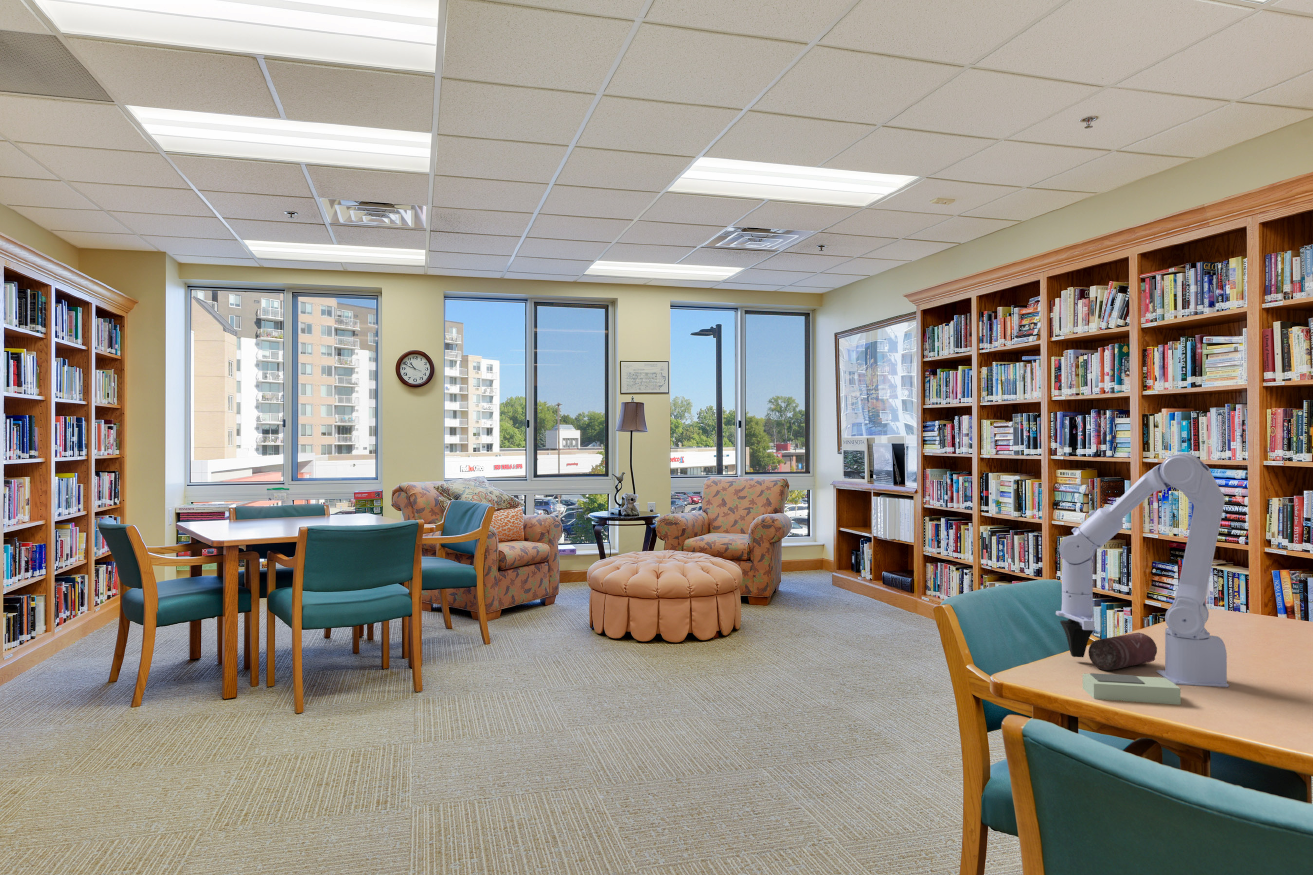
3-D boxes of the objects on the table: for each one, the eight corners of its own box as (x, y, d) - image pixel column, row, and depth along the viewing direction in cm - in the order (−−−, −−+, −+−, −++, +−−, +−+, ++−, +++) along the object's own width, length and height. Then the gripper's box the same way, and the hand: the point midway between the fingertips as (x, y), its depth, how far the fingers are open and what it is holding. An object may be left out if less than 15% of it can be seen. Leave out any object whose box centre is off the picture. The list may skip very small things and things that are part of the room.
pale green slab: (1165, 693, 143) (1164, 676, 143) (1180, 705, 137) (1180, 686, 137) (1082, 688, 146) (1082, 671, 146) (1093, 700, 140) (1093, 682, 140)
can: (1122, 665, 154) (1165, 655, 160) (1103, 634, 157) (1147, 627, 163) (1099, 676, 158) (1142, 667, 164) (1081, 647, 161) (1124, 639, 167)
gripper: (1046, 584, 172) (1046, 645, 172) (1067, 598, 158) (1067, 665, 158) (1081, 585, 170) (1081, 647, 171) (1105, 599, 156) (1105, 666, 156)
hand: (1077, 656), depth 164 cm, fingers closed
